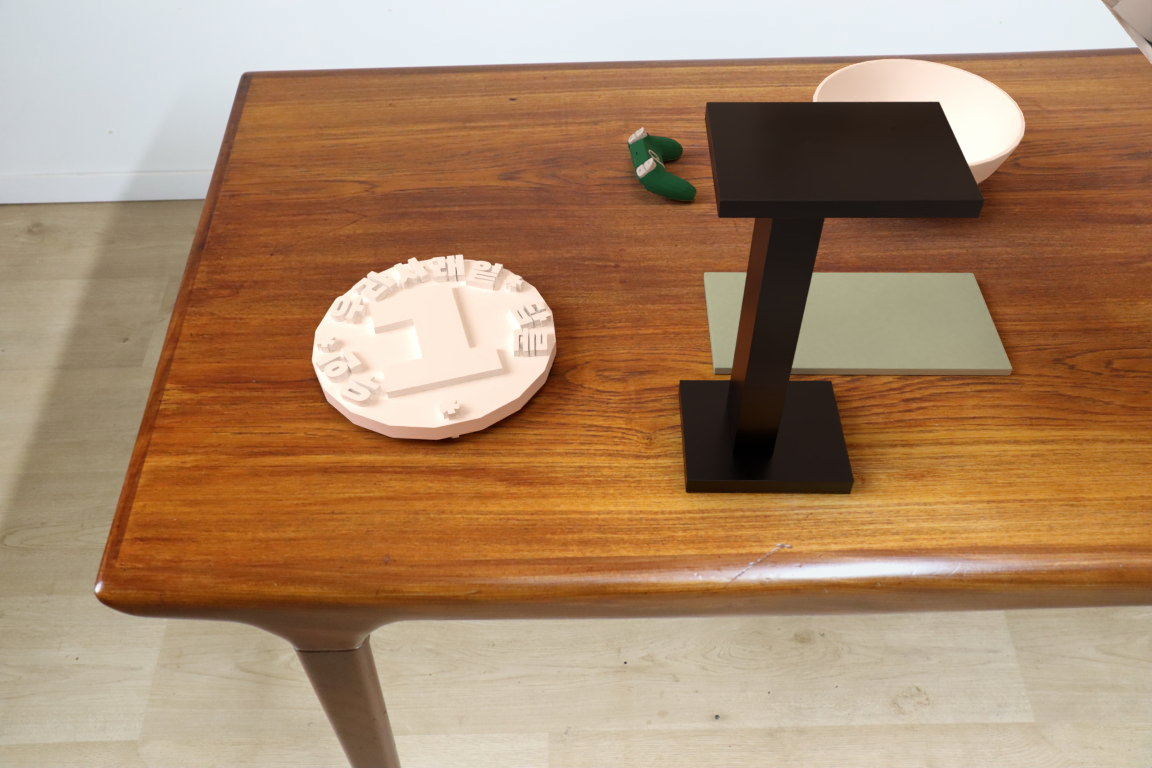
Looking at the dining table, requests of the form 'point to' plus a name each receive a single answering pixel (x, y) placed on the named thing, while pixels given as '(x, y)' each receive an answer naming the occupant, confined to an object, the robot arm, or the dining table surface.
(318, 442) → the dining table surface
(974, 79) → the bowl
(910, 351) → the mat
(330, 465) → the dining table surface
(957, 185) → the black pedestal stand
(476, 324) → the giant coin
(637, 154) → the gaming controller
